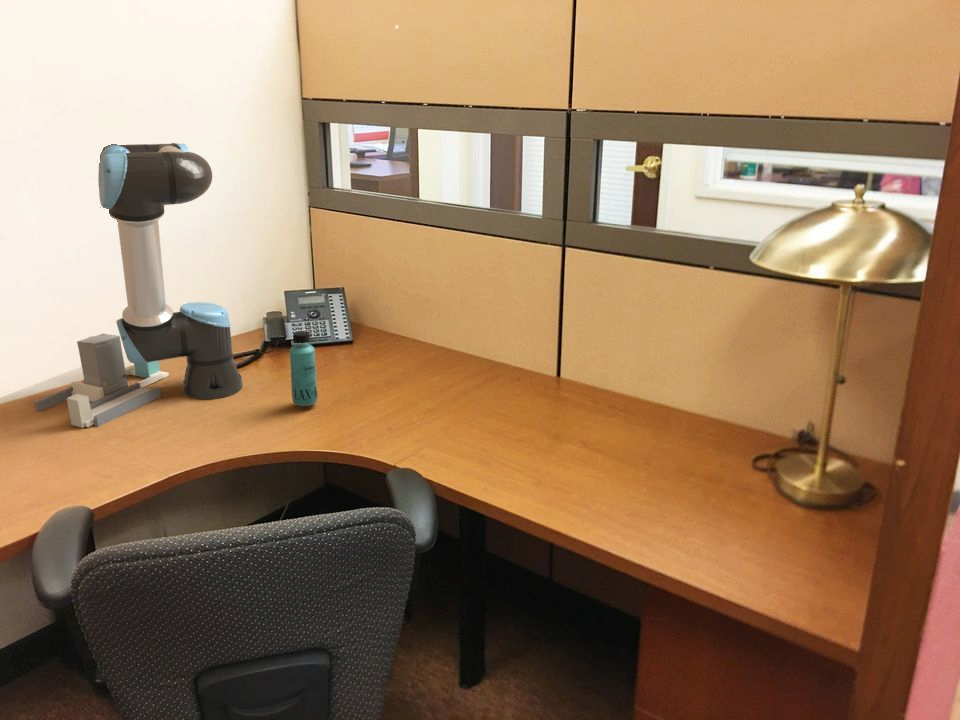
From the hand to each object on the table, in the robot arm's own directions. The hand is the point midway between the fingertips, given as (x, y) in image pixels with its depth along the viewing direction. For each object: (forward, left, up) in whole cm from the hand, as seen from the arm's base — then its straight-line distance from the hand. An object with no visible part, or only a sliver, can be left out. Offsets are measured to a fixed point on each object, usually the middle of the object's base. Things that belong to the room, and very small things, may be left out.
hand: (128, 266), depth 219 cm
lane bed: (-19, +32, -27) cm, 46 cm away
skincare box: (-16, +27, -27) cm, 42 cm away
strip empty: (-26, +33, -26) cm, 50 cm away
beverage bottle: (-67, +11, -27) cm, 73 cm away
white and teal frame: (-16, +22, -26) cm, 37 cm away
